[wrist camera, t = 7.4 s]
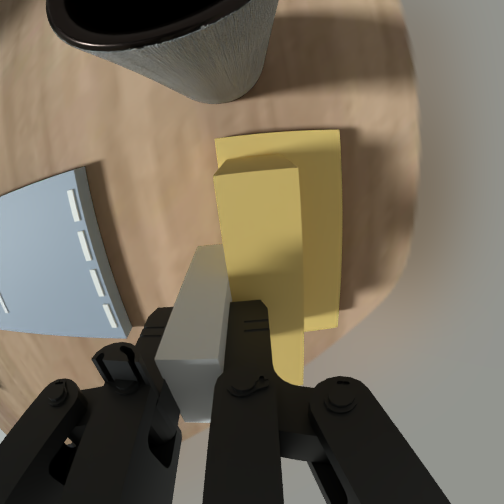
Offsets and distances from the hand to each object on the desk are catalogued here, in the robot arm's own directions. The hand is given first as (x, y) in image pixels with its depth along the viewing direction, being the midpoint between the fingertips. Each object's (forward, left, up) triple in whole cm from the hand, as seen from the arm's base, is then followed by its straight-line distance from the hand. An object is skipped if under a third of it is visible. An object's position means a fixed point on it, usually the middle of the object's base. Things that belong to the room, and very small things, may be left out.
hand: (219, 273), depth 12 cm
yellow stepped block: (0, +3, -3) cm, 4 cm away
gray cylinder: (-10, +1, -4) cm, 10 cm away
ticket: (0, -15, -3) cm, 16 cm away
